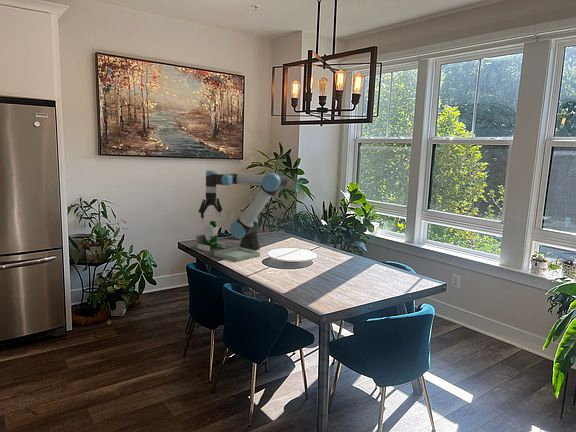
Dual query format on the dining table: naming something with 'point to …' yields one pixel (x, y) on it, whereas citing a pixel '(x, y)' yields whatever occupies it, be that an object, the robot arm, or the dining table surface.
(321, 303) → the dining table surface
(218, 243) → the dock
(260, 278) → the dining table surface
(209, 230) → the soya milk
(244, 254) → the tray
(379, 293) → the dining table surface
